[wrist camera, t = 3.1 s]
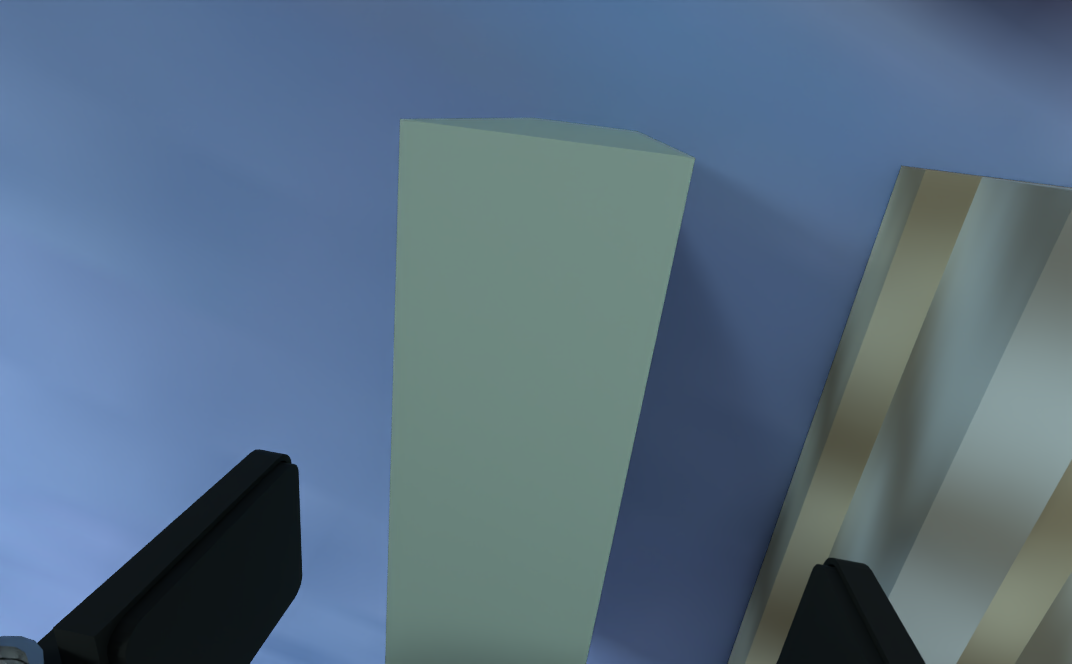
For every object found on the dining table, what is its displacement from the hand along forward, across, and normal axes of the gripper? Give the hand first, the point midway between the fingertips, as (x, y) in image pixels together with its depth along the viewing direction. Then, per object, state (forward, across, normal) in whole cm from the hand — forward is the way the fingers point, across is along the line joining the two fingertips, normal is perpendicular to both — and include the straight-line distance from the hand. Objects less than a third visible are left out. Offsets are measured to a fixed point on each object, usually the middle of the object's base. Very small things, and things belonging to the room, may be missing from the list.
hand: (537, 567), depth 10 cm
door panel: (+6, +1, 0) cm, 6 cm away
